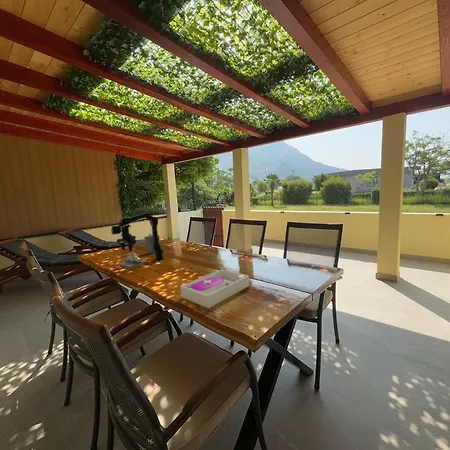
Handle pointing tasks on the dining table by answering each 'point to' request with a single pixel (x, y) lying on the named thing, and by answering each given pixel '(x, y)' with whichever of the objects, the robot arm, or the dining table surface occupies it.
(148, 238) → the moka pot
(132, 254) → the valve lever
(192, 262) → the dining table surface
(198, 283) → the white tray with pad
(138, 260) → the valve body
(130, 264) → the valve board
